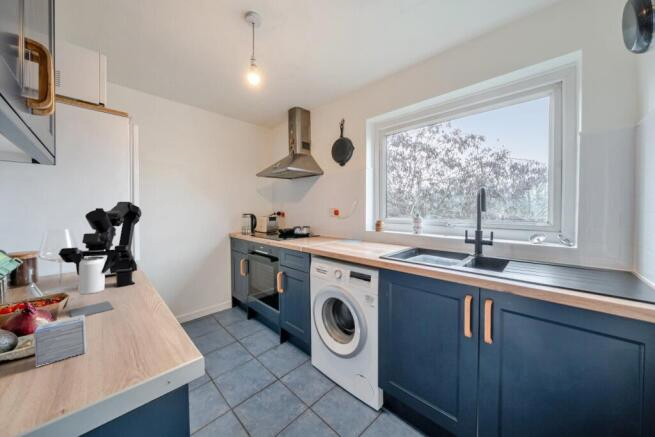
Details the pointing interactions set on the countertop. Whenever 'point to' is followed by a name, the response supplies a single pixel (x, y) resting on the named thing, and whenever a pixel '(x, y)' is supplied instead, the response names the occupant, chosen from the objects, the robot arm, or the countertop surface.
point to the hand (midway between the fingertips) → (90, 273)
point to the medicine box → (60, 339)
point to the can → (91, 275)
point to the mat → (91, 309)
